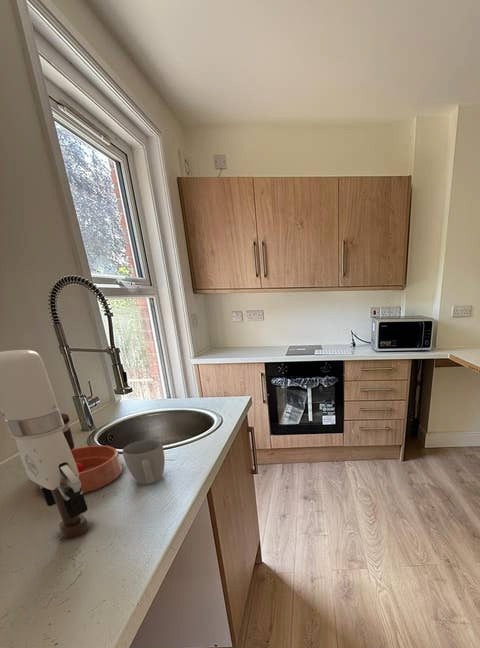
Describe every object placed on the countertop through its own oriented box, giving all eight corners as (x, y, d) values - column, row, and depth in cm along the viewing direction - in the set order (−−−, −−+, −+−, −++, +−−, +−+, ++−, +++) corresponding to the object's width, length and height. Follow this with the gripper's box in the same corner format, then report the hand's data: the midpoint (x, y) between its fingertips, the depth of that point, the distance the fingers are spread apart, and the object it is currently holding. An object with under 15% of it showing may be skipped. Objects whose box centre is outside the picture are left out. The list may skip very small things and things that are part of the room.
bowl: (64, 507, 78) (55, 484, 76) (29, 488, 87) (20, 466, 84) (136, 473, 92) (131, 453, 90) (100, 459, 100) (94, 440, 98)
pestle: (70, 543, 67) (52, 495, 63) (59, 536, 69) (40, 489, 65) (94, 530, 70) (78, 484, 66) (82, 524, 73) (66, 478, 68)
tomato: (73, 480, 88) (69, 467, 87) (66, 476, 90) (61, 464, 88) (88, 473, 91) (84, 461, 90) (81, 470, 93) (77, 458, 91)
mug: (130, 477, 90) (121, 444, 86) (167, 469, 94) (159, 436, 90) (133, 500, 80) (122, 463, 77) (173, 489, 84) (165, 454, 81)
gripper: (-12, 422, 62) (24, 505, 69) (34, 440, 53) (69, 533, 60) (37, 409, 68) (66, 487, 75) (85, 424, 59) (112, 510, 66)
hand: (67, 507), depth 67 cm, fingers open, 7 cm apart
